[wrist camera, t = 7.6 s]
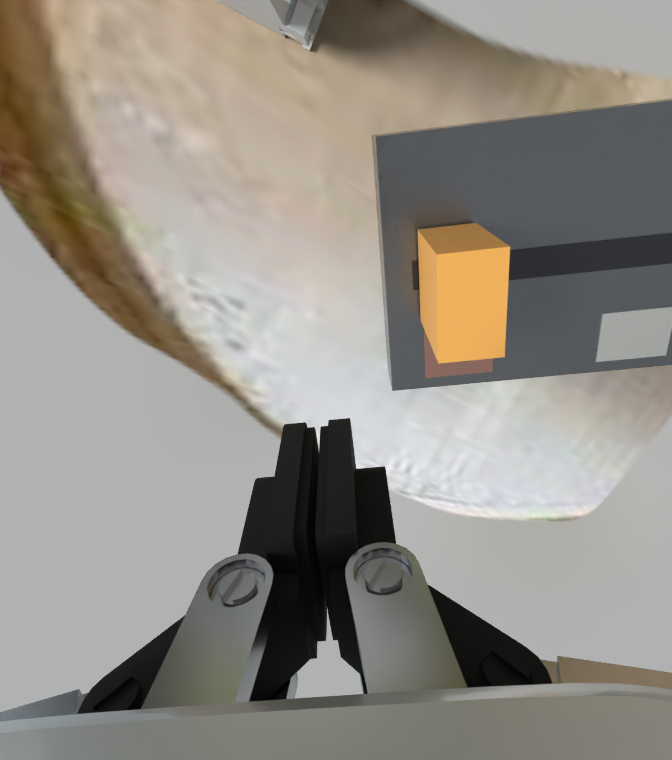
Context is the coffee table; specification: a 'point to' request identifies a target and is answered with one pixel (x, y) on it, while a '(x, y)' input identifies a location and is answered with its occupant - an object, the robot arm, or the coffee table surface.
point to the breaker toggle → (463, 291)
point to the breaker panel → (538, 238)
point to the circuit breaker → (284, 16)
